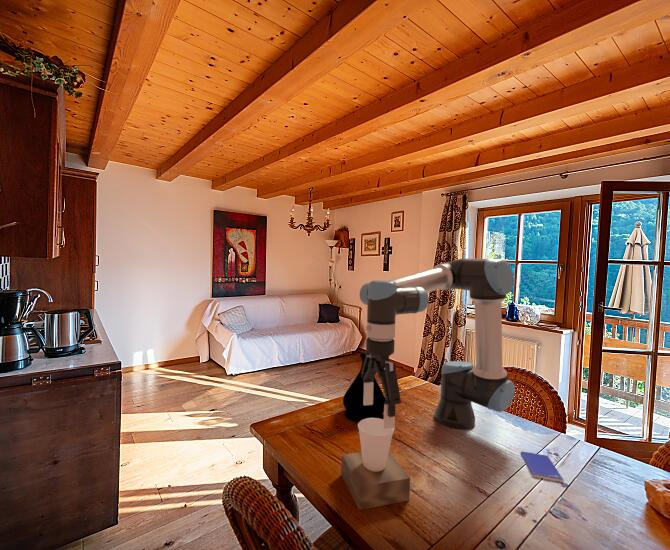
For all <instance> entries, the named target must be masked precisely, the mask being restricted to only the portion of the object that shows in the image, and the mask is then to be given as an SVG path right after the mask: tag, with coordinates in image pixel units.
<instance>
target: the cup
mask: <svg viewBox="0 0 670 550" xmlns="http://www.w3.org/2000/svg"><path fill="white" fill-rule="evenodd" d="M357 429H358V432H359V443H360V450H361V452H362V460H363V465H364V467H365V468H366V469H368V470H369V471H373V472H379V471H382V470H383V469H384V468H385V467H386V462H387V457H388V453H389V452H390V448H391V443H392V438H393V434H394V432H395V428H387V429H385V428H384V418H383V419H379V418H367V419H363V420H361V421H360V422H359V423H357Z"/></svg>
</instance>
